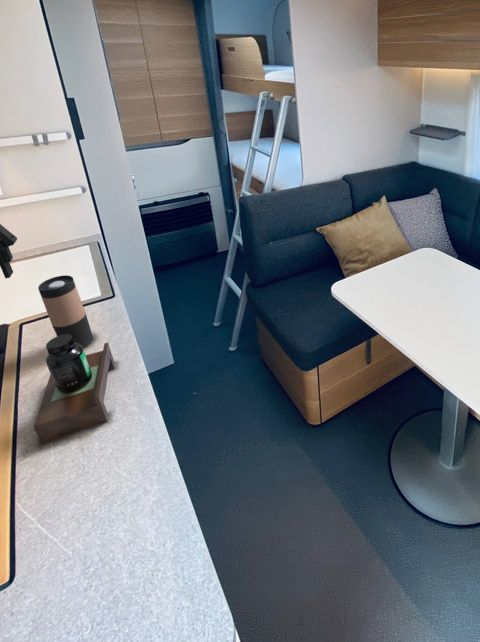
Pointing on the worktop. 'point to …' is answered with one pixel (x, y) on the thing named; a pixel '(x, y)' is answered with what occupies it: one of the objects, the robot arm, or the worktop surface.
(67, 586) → the worktop surface
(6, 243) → the robot arm
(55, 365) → the supplement bottle
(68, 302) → the travel mug
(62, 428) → the wooden plaque with label
